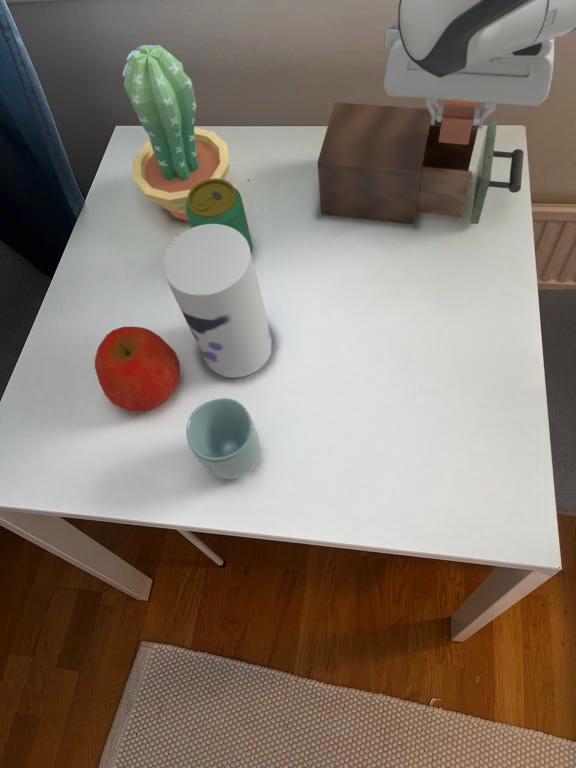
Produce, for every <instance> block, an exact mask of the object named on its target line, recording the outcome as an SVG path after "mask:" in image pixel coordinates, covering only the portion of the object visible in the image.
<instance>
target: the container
mask: <svg viewBox="0 0 576 768" xmlns="http://www.w3.org/2000/svg"><path fill="white" fill-rule="evenodd" d="M161 264H162V266H161V267H162V273H163V275H164V278H165V280H166V283H167V284H168V286H169V288H170V290H171V292H172V295H173V296H174V299H175V300H176V303H177V305H178V307H179V309H180V311H181V313H182V315H183V317H184V319H185V322H186V324H187V326H188V328H189V330H190V332H191V334H192V336H193V338H194V340H195V342H196V345H197V346H198V349H199V351H200V352H201V355H202V357H203V358H204V362H205V363H206V365H207V366H208V368H209V369H210V370H212V371H213V372H214V373H216V374H218V375H219V376H222V377H226V378H232V379H233V378H235V379H236V378H243V377H247V376H249V375H252V374H254V373H256V372H257V371H259V370H260V369H261V368H263V367H264V366H265V364H266V363H267V362H268V360H269V359H270V356H271V355H272V351H273V345H274V344H273V338H272V332H271V329H270V324H269V321H268V317H267V313H266V308H265V305H264V302H263V297H262V292H261V288H260V284H259V281H258V276H257V272H256V269H255V263H254V261H253V256H252V253H251V252H250V248H249V245H248V242H247V241H246V239H245V238H244V236H243V235H242V234H241V233H240V232H238V231H237V230H235V229H233V228H231V227H229V226H225V225H221V224H205V225H199V226H196V227H193V228H192V227H191V228H189V229H186V230H184V231H183V232H182V233H180V234H179V235H177V236H176V237H175V238H174V239H173V240H172V241H171V242H170V243H169V244H168V246H167V248H166V249H165V252H164V253H163V257H162V263H161Z"/></svg>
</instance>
